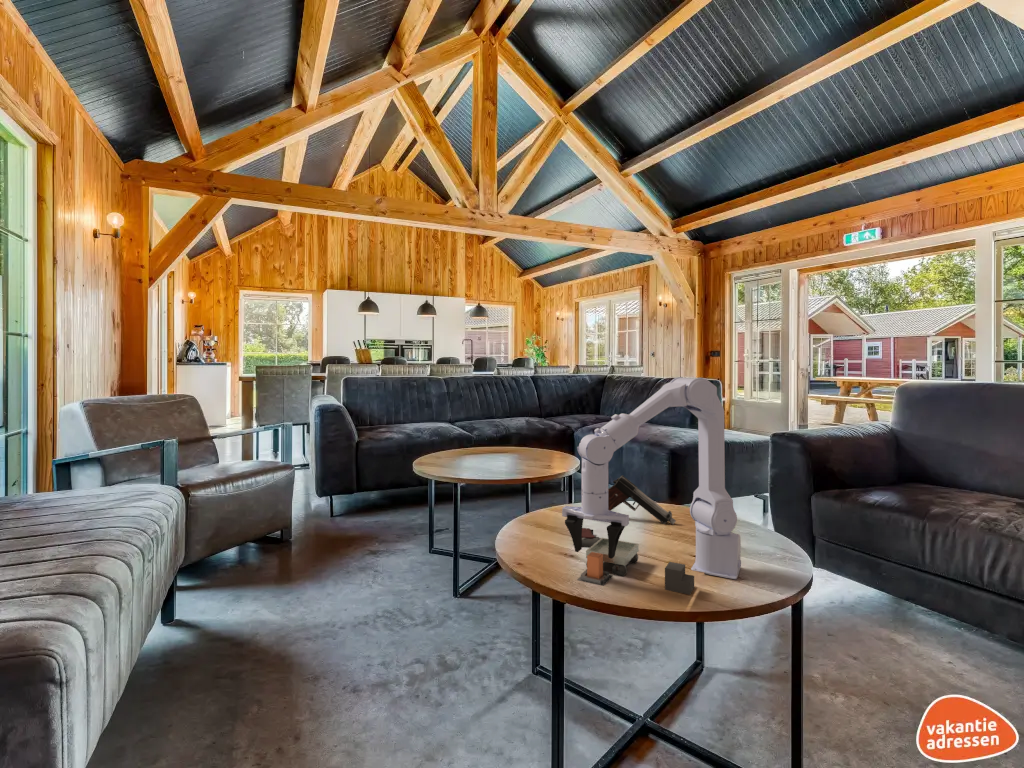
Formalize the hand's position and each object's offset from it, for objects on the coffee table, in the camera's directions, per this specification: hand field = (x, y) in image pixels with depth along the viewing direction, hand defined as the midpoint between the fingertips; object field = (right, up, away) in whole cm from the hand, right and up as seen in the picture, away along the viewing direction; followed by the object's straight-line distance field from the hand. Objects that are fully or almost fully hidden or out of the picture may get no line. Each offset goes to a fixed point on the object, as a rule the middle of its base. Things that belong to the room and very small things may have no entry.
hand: (594, 553), depth 111 cm
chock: (+17, -6, -5) cm, 18 cm away
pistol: (+6, -6, +24) cm, 25 cm away
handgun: (+18, -5, +44) cm, 48 cm away
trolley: (+5, -6, +7) cm, 10 cm away
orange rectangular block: (0, -5, 0) cm, 5 cm away
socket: (0, -6, 0) cm, 6 cm away
